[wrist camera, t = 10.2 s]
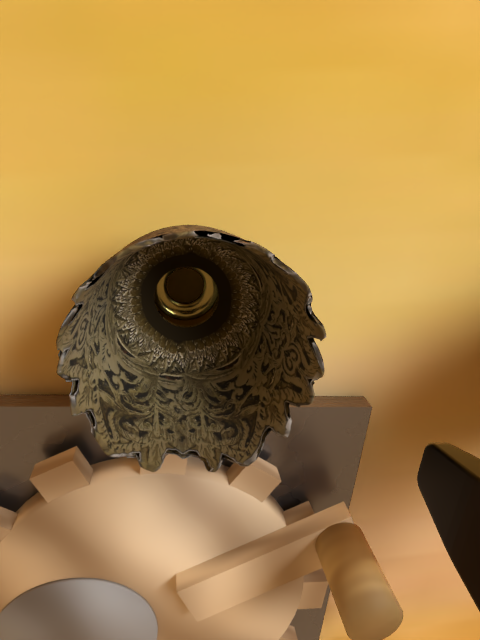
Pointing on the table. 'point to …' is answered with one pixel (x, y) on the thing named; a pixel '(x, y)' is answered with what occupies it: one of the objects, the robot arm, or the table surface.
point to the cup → (190, 349)
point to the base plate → (284, 453)
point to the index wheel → (179, 556)
